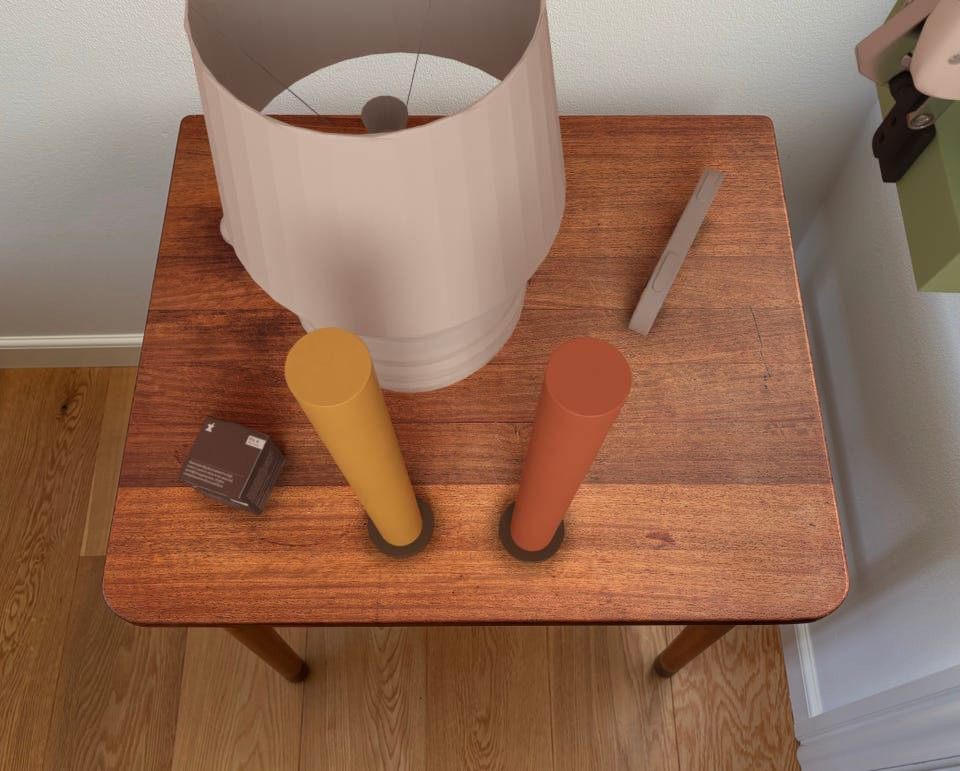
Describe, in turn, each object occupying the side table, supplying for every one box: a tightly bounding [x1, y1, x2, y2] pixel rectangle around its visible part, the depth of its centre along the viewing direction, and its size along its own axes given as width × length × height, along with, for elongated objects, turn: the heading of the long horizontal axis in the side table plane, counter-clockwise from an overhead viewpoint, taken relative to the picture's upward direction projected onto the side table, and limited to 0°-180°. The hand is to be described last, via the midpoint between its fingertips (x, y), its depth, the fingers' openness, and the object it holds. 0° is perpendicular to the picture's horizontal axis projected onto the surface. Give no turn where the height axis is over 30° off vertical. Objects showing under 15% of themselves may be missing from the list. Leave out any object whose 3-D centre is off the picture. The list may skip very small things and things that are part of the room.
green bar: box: [874, 0, 960, 294], centre depth 39 cm, size 3×16×4 cm, turn 178°
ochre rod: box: [284, 327, 435, 559], centre depth 53 cm, size 6×6×38 cm
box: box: [176, 414, 287, 517], centre depth 69 cm, size 6×6×7 cm
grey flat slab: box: [627, 166, 726, 337], centre depth 77 cm, size 20×2×8 cm, turn 152°
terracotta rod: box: [498, 336, 633, 565], centre depth 53 cm, size 6×6×38 cm
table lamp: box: [183, 0, 567, 394], centre depth 60 cm, size 25×25×40 cm
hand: (921, 160), depth 41 cm, fingers closed on green bar, 3 cm apart
